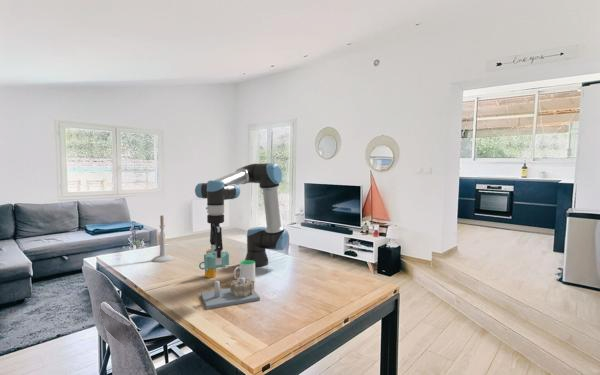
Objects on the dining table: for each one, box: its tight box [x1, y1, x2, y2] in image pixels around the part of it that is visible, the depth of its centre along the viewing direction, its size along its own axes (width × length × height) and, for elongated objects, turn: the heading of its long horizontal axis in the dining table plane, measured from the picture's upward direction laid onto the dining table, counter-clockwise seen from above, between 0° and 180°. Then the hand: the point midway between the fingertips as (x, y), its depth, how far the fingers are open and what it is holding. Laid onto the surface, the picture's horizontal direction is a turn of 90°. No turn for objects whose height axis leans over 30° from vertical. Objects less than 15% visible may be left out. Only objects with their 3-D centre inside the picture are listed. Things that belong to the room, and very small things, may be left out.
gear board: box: [200, 278, 261, 310], centre depth 156 cm, size 24×17×8 cm
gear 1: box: [203, 250, 230, 270], centre depth 153 cm, size 11×11×5 cm
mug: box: [233, 259, 256, 283], centre depth 178 cm, size 12×8×10 cm, turn 128°
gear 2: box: [229, 279, 255, 297], centre depth 159 cm, size 11×11×5 cm
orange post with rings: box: [198, 248, 217, 279], centre depth 187 cm, size 12×10×15 cm
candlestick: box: [152, 214, 174, 263], centre depth 220 cm, size 13×13×30 cm
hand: (216, 261), depth 153 cm, fingers closed on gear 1, 11 cm apart
